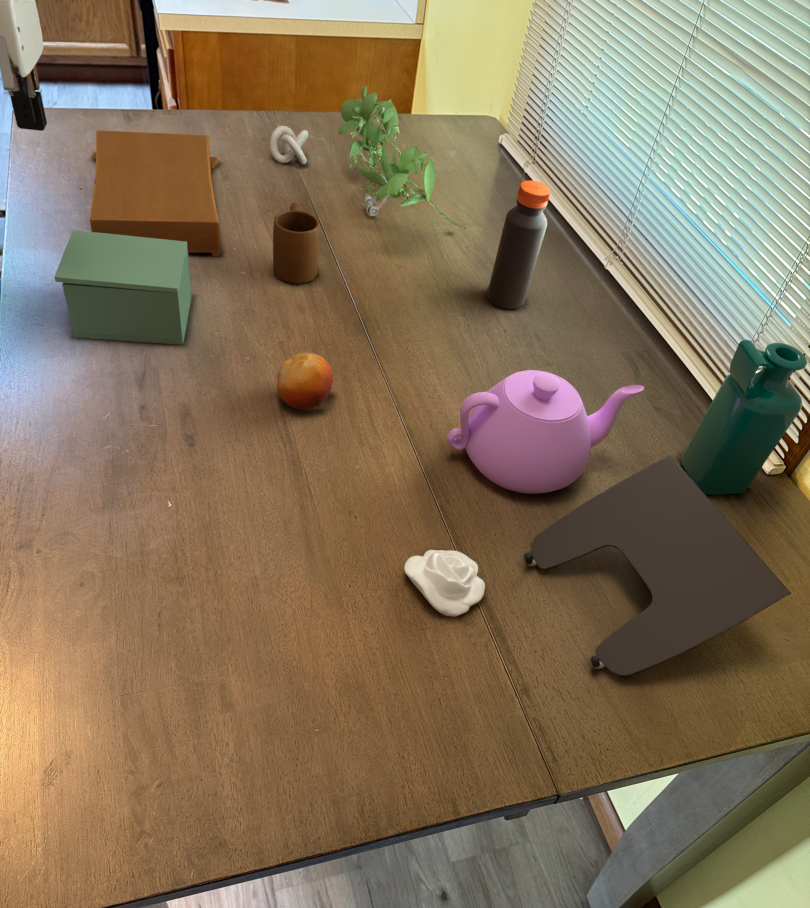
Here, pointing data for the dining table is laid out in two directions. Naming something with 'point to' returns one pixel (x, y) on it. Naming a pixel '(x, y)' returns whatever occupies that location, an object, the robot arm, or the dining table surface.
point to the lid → (122, 261)
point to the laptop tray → (665, 564)
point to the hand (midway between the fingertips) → (32, 126)
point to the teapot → (533, 431)
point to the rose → (446, 580)
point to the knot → (288, 144)
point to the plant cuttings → (385, 153)
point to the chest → (130, 312)
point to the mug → (295, 245)
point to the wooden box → (156, 188)
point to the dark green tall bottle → (745, 419)
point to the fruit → (305, 381)
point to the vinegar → (519, 246)
